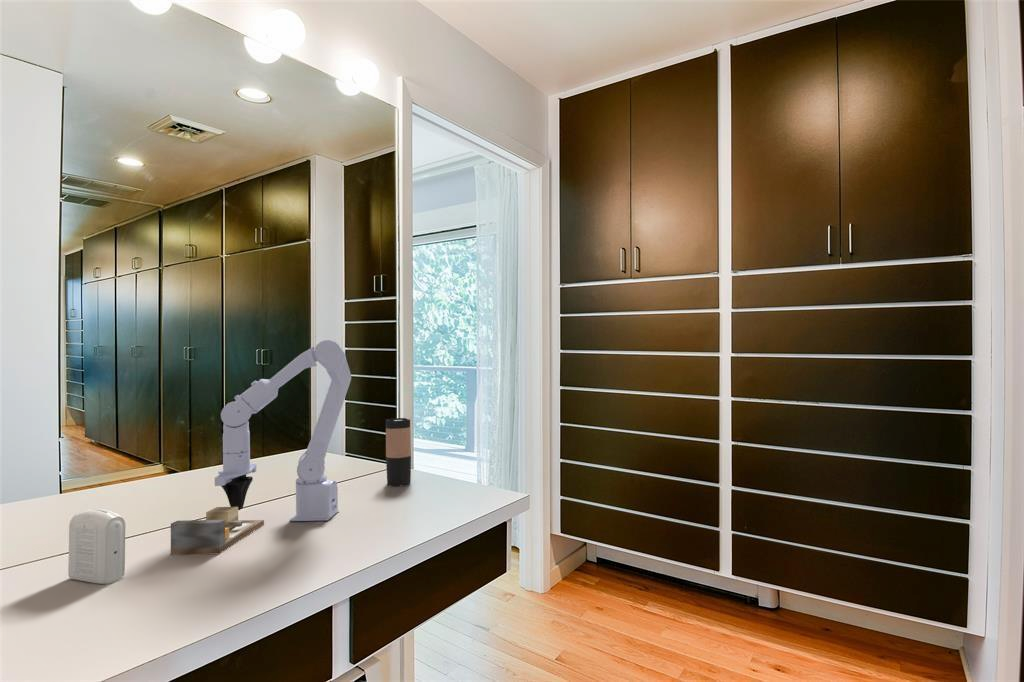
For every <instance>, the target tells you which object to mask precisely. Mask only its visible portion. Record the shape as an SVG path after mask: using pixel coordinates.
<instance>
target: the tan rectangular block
mask: <svg viewBox="0 0 1024 682" xmlns="http://www.w3.org/2000/svg"><path fill="white" fill-rule="evenodd" d="M205 520H225V528H229V529H231V528H233V527H240V526H242V521H238V520H239V510H238V507H230V506H216V507H215V508H214V507H213V508H212V509H210V510H208V511H206V512H205Z"/></svg>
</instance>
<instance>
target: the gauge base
mask: <svg viewBox="0 0 1024 682" xmlns="http://www.w3.org/2000/svg"><path fill="white" fill-rule="evenodd" d="M238 521H242V526H240V527H233V528H231V529H229V537H228V538H227V539H225V520H206V519H204V520H203V519H200V520H198V519H195V520H194V519H193V520H192V519H191V520H185V519H184V520H175V521H173V522H172V523H170V555H171V554H179V555H211V554H210V553H220V554H221V552H222V551H223V552H225V551H226V550H228V549H229V548H231V547H232V546H234V545H235V544H237V543H239V542H240V541H242V540H243V539H245V538H246V537H248V536H250V535H251V534H252V533H254V532H255V531H254V530H256V529H257V530H258V528H259V527H260V528H262V527H263V526H264V525H265V519H250V520H249V519H247V520H246V519H245V520H243V519H242V520H239V519H238ZM262 525H263V526H262ZM261 526H262V527H261ZM260 528H259V529H260ZM257 530H256V531H257ZM253 531H254V532H253ZM251 532H252V533H251ZM250 533H251V534H250ZM247 535H248V536H247ZM244 537H245V538H244ZM242 538H243V539H242ZM241 539H242V540H241ZM239 540H240V541H239ZM238 541H239V542H238ZM236 542H237V543H236ZM234 543H235V544H234ZM233 544H234V545H233ZM231 545H232V546H231ZM230 546H231V547H230ZM228 547H229V548H228ZM227 548H228V549H227ZM225 549H226V550H225ZM224 550H225V551H224ZM223 552H222V553H223Z"/></svg>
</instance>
